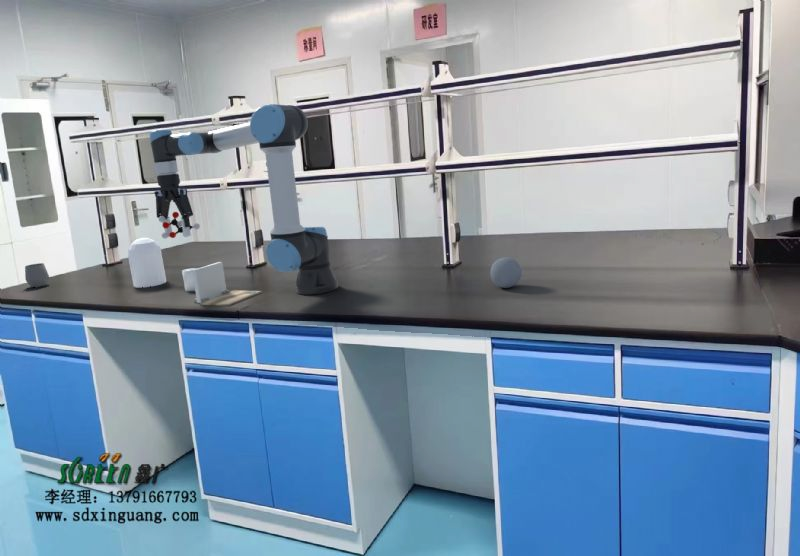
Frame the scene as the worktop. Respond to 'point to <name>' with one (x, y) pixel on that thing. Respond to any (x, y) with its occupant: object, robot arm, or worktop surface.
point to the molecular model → (175, 223)
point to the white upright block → (188, 279)
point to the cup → (36, 275)
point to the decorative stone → (505, 272)
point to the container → (146, 263)
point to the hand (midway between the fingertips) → (178, 236)
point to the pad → (230, 298)
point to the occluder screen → (209, 282)
